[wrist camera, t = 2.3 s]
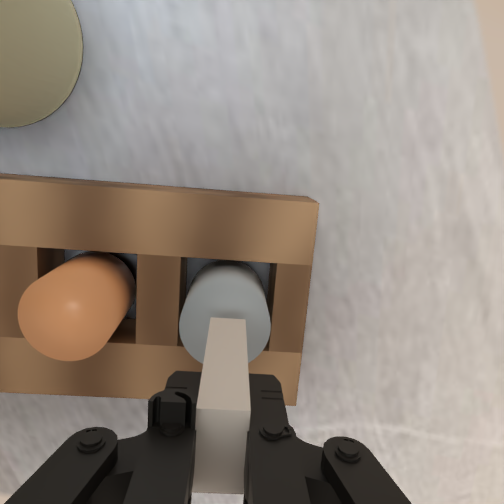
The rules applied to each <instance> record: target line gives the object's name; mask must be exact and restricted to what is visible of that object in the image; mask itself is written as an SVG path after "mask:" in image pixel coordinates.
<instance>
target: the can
mask: <svg viewBox="0 0 504 504" xmlns="http://www.w3.org/2000/svg"><path fill="white" fill-rule="evenodd" d="M82 56H83V42H82V33H81V27H80V23H79V19H78V16H77V13H76V10H75V8H74V6H73V4H72V1H71V0H0V127H19V126H25V125H28V124H32V123H35V122H37V121H39V120H42V119H43V118H45V117H47V116H49V115H50V114H52V113H53V112H54V111H55V110H57V109H58V108H59V107H60V106H61V105H62V104H63V103H64V101H65V100H66V99H67V98H68V96H69V95H70V93H71V91H72V90H73V88H74V86H75V84H76V81H77V79H78V76H79V72H80V69H81V63H82Z"/></svg>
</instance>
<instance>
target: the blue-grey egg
mask: <svg viewBox="0 0 504 504" xmlns="http://www.w3.org/2000/svg"><path fill="white" fill-rule="evenodd" d="M211 317H214V318H231V319H245V320H246V337H247V354H248V363H249V362H251V361H252V360H254V359H255V358H256V357H257V356H258V355H259V354H260V353H261V352H262V351H263V349H264V348H265V346H266V344H267V342H268V339H269V336H270V330H271V323H270V316H269V312H268V307H267V303H266V298H265V294H264V289H263V285H262V283H261V280H260V278H259V277H258V275H257V274H256V273H255V272H254V271H253V270H252V269H251V268H250V267H248V266H247V265H245V264H243V263H241V262H238V261H234V260H219V261H215V262H213V263H210V264H208V265H206V266H205V267H204V268H202V269H201V270H200V271H199V272H198V273H197V274H196V276H195V277H194V279H193V281H192V283H191V286H190V289H189V292H188V295H187V298H186V301H185V304H184V307H183V310H182V313H181V316H180V322H179V332H180V337H181V340H182V343H183V345H184V347H185V348H186V350H187V351H188V352H189V354H190V355H191V356H192V357H193V358H195V359H196V360H197V361H199V362H200V363H202V364H203V362H204V356H205V350H206V344H207V337H208V331H209V325H210V318H211Z"/></svg>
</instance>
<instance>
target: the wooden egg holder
mask: <svg viewBox="0 0 504 504" xmlns="http://www.w3.org/2000/svg"><path fill="white" fill-rule="evenodd" d="M318 210H319V203H318V202H316V201H315V200H313V199H311V198H309V197H305V196H292V195H278V194H265V193H252V192H239V191H226V190H213V189H200V188H187V187H173V186H160V185H147V184H134V183H121V182H108V181H95V180H82V179H69V178H55V177H42V176H29V175H16V174H3V173H0V392H6V393H28V394H49V395H71V396H93V397H115V398H136V399H150V398H151V397H152V396H153V395H154V394H156V393H158V392H160V391H163V390H164V389H165V386H166V383H167V379H168V377H169V376H171V375H172V374H173V373H174V372H175V371H194V372H202V369H203V364H202V363H200V362H199V361H197V360H196V359H195V358H193V357H192V356H191V355H190V354H189V352H188V351H187V350H186V348H185V347H184V345H183V343H182V340H181V337H180V332H179V322H180V316H181V313H182V310H183V307H184V304H185V298H186V276H187V257H192V258H207V259H222V260H237V261H252V262H268V263H270V273H269V284H268V294H267V307H268V312H269V316H270V323H271V330H270V336H269V339H268V342H267V344H266V346H265V348H264V349H263V351H262V352H261V353H260V354H259V355H258V356H257V357H256V358H255V359H254V360H252V361H251V362H249V363H248V372H249V373H251V374H270V375H274V376H275V377H276V378H277V379H278V380H279V381H280V382H281V387H282V393H283V397H284V403H285V405H289V406H296V400H297V391H298V383H299V374H300V365H301V357H302V348H303V339H304V331H305V322H306V313H307V305H308V296H309V287H310V279H311V270H312V261H313V253H314V244H315V236H316V227H317V218H318ZM64 249H72V250H87V251H102V252H117V253H132V254H137V296H136V319H124V318H123V319H122V321H121V322H120V324H119V325H118V327H117V328H116V330H115V331H114V333H113V334H112V336H111V337H110V338H109V340H108V341H107V343H106V344H105V345H104V347H103V348H102V349H101V350H100V351H98V352H97V353H96V354H94V355H92V356H90V357H88V358H86V359H82V360H78V361H61V360H56V359H53V358H50V357H47V356H45V355H43V354H42V353H40V352H39V351H37V350H36V349H35V348H33V347H32V346H31V345H30V343H29V342H28V341H27V340H26V338H25V337H24V335H23V333H22V331H21V329H20V326H19V322H18V305H19V302H20V299H21V297H22V295H23V293H24V292H25V290H26V289H27V288H28V287H29V286H30V285H31V284H32V283H33V282H35V281H36V280H38V279H39V278H41V277H43V276H44V275H46V274H47V273H49V272H51V271H52V270H54V269H55V268H57V267H59V266H60V265H62V264H63V263H64Z"/></svg>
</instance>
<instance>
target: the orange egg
mask: <svg viewBox="0 0 504 504" xmlns="http://www.w3.org/2000/svg"><path fill="white" fill-rule="evenodd" d="M135 294H136V285H135V280H134V278H133V275H132V273H131V271H130V270H129V268H128V267H127V266H126V265H125V264H124V263H123V262H122V261H121V260H120V259H118V258H117V257H115V256H113V255H111V254H108V253H105V252H100V251H89V252H84V253H81V254H78V255H76V256H75V257H73V258H71V259H70V260H68V261H66V262H65V263H63V264H62V265H60V266H59V267H57V268H55V269H54V270H52V271H51V272H49V273H47V274H46V275H44V276H43V277H41V278H39V279H38V280H36V281H35V282H33V283H32V284H31V285H30V286H29V287H28V288H27V289H26V290H25V292H24V293H23V295H22V297H21V299H20V302H19V305H18V322H19V326H20V329H21V331H22V333H23V335H24V337H25V338H26V340H27V341H28V342H29V343H30V345H31V346H32V347H33V348H35V349H36V350H37V351H39V352H40V353H42V354H43V355H45V356H47V357H50V358H53V359H56V360H61V361H78V360H82V359H86V358H88V357H90V356H92V355H94V354H96V353H97V352H98V351H100V350H101V349H102V348H103V347H104V345H105V344H106V343H107V341H108V340H109V338H110V337H111V336H112V334H113V333H114V331H115V330H116V328H117V327H118V325H119V324H120V322H121V321H122V319H123V318H124V317H125V315H126V314H127V312H128V311H129V309H130V308H131V306H132V304H133V302H134V299H135Z"/></svg>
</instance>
